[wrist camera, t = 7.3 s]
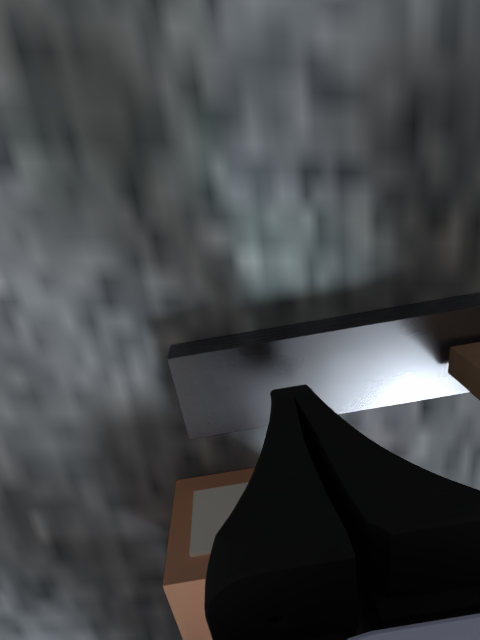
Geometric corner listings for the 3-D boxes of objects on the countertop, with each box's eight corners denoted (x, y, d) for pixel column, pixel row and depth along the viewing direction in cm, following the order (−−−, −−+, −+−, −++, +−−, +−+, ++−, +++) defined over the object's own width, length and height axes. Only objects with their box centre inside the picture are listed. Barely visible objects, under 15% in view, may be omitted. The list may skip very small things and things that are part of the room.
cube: (195, 544, 20) (189, 657, 15) (175, 476, 18) (161, 582, 13) (284, 530, 20) (304, 638, 15) (273, 459, 18) (293, 560, 13)
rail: (191, 421, 16) (189, 439, 15) (171, 345, 15) (167, 359, 14) (704, 334, 16) (740, 346, 15) (738, 248, 15) (780, 255, 14)
